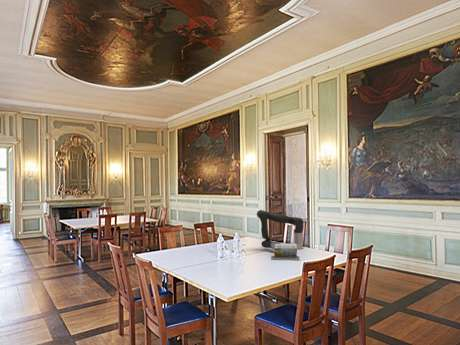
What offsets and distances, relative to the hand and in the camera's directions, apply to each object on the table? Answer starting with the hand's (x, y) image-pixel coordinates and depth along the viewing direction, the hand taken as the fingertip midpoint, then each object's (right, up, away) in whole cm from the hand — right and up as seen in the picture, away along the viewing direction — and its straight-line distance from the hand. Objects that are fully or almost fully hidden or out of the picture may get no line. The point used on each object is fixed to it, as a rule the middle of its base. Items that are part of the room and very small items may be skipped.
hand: (287, 248), depth 312 cm
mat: (-4, -7, -12) cm, 14 cm away
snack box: (-2, -5, -1) cm, 6 cm away
